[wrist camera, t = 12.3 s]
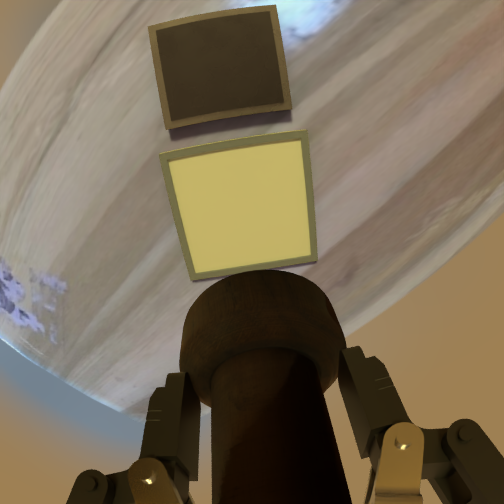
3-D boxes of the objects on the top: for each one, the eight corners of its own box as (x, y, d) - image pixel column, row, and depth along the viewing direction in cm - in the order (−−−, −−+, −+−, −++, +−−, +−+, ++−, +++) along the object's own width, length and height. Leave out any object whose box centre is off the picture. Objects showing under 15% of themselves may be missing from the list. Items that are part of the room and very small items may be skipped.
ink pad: (274, 8, 20) (276, 4, 19) (290, 108, 24) (292, 109, 23) (150, 28, 20) (147, 26, 19) (168, 128, 24) (165, 130, 23)
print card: (305, 129, 25) (307, 130, 24) (316, 257, 30) (317, 260, 30) (160, 153, 25) (158, 154, 24) (191, 277, 31) (190, 280, 30)
